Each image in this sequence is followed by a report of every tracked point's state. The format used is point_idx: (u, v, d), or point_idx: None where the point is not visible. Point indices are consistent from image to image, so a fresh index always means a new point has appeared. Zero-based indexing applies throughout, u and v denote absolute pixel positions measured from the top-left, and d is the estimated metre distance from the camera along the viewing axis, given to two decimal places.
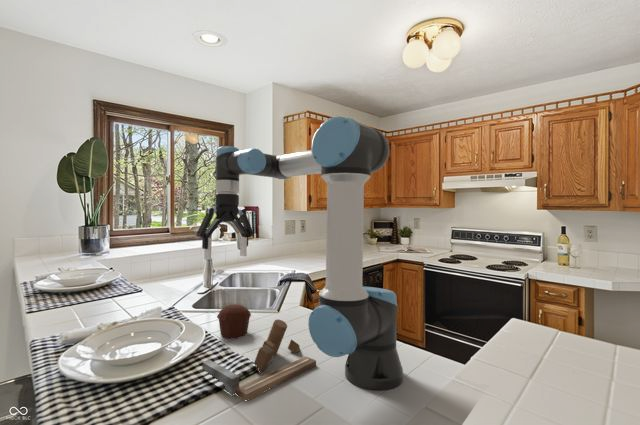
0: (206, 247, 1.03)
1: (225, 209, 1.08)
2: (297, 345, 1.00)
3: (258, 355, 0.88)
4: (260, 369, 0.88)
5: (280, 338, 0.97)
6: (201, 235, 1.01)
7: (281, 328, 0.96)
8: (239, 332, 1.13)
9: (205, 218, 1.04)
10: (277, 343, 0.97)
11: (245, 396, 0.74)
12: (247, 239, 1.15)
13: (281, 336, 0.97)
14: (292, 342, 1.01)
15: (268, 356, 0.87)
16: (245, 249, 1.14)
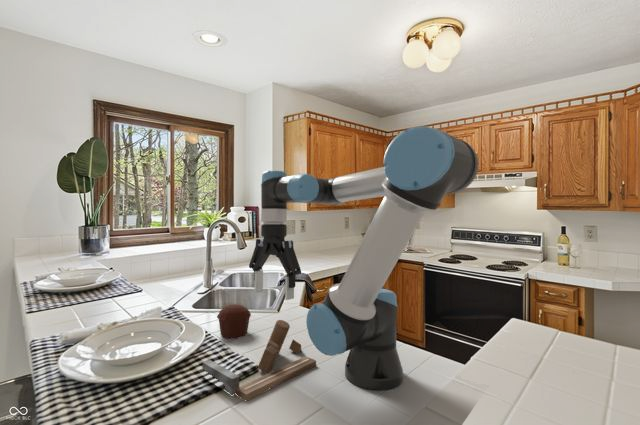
0: (255, 279, 1.01)
1: (268, 241, 0.97)
2: (299, 345, 1.00)
3: (264, 356, 0.87)
4: (266, 370, 0.87)
5: (283, 338, 0.97)
6: (249, 266, 1.02)
7: (284, 328, 0.96)
8: (239, 332, 1.13)
9: None
10: (279, 343, 0.97)
11: (245, 396, 0.74)
12: (290, 279, 0.91)
13: (284, 336, 0.97)
14: (294, 342, 1.01)
15: (273, 357, 0.87)
16: (286, 291, 0.92)
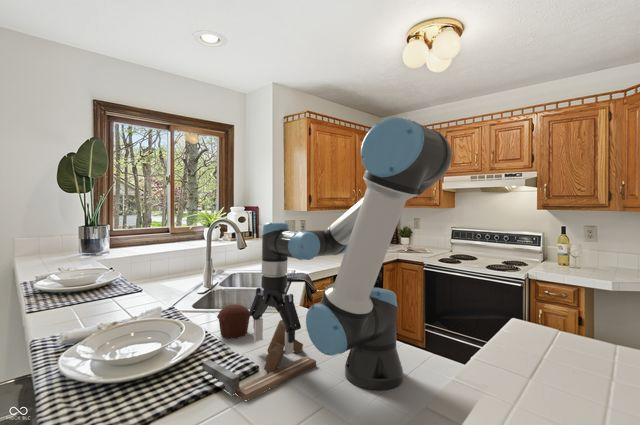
0: None
1: (268, 292, 0.97)
2: (301, 344, 1.00)
3: (270, 357, 0.87)
4: (272, 371, 0.87)
5: None
6: None
7: None
8: (239, 332, 1.13)
9: None
10: (282, 344, 0.97)
11: (245, 396, 0.74)
12: (290, 334, 0.91)
13: None
14: (295, 342, 1.01)
15: (280, 357, 0.87)
16: (285, 346, 0.91)
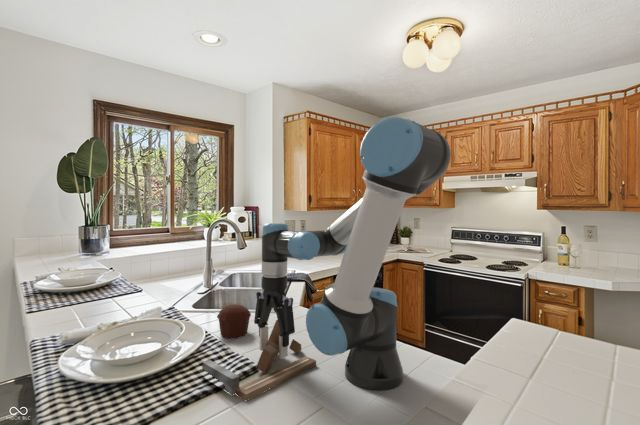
0: None
1: (267, 291, 0.97)
2: (299, 345, 0.99)
3: (262, 355, 0.87)
4: (264, 369, 0.87)
5: None
6: (255, 322, 1.00)
7: None
8: (239, 332, 1.13)
9: None
10: None
11: (245, 396, 0.74)
12: (284, 338, 0.93)
13: None
14: (294, 342, 1.00)
15: (272, 357, 0.86)
16: (279, 350, 0.93)
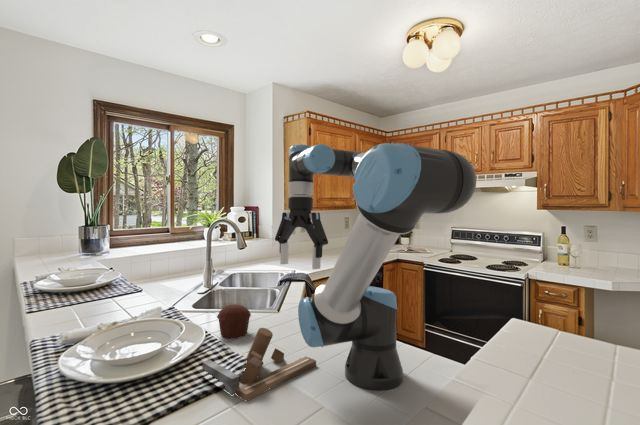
0: (281, 251, 1.04)
1: (294, 213, 1.00)
2: (282, 354, 0.93)
3: (247, 369, 0.80)
4: None
5: (265, 348, 0.90)
6: (275, 239, 1.05)
7: (267, 337, 0.89)
8: (239, 332, 1.13)
9: None
10: (262, 353, 0.90)
11: (245, 396, 0.74)
12: (318, 249, 0.94)
13: (266, 346, 0.90)
14: (276, 351, 0.94)
15: (258, 370, 0.80)
16: (313, 261, 0.95)
